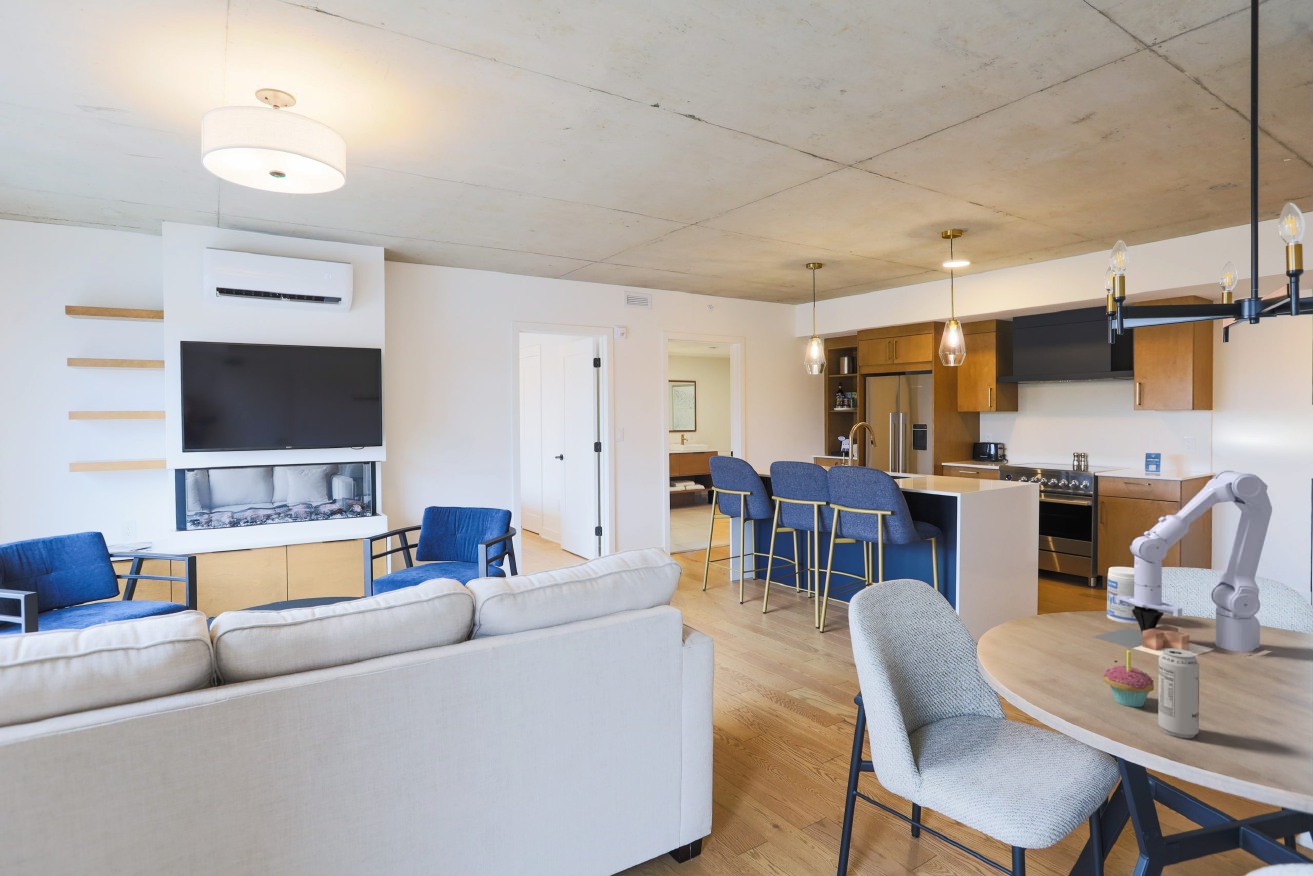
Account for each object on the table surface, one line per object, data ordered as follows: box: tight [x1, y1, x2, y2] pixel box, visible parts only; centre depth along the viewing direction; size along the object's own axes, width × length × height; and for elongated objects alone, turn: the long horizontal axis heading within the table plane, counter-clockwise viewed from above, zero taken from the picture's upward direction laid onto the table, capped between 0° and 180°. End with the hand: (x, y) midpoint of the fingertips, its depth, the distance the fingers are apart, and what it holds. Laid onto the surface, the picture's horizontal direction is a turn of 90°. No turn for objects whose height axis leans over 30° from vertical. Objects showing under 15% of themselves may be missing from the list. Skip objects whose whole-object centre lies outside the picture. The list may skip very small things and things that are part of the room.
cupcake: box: [1103, 647, 1155, 708], centre depth 141 cm, size 9×8×12 cm
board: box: [1092, 627, 1215, 657], centre depth 174 cm, size 16×20×1 cm
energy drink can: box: [1157, 648, 1200, 739], centre depth 127 cm, size 6×6×15 cm
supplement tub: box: [1106, 566, 1139, 625], centre depth 194 cm, size 10×10×15 cm
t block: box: [1142, 624, 1190, 651], centre depth 170 cm, size 7×10×4 cm
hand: (1147, 637), depth 174 cm, fingers closed
